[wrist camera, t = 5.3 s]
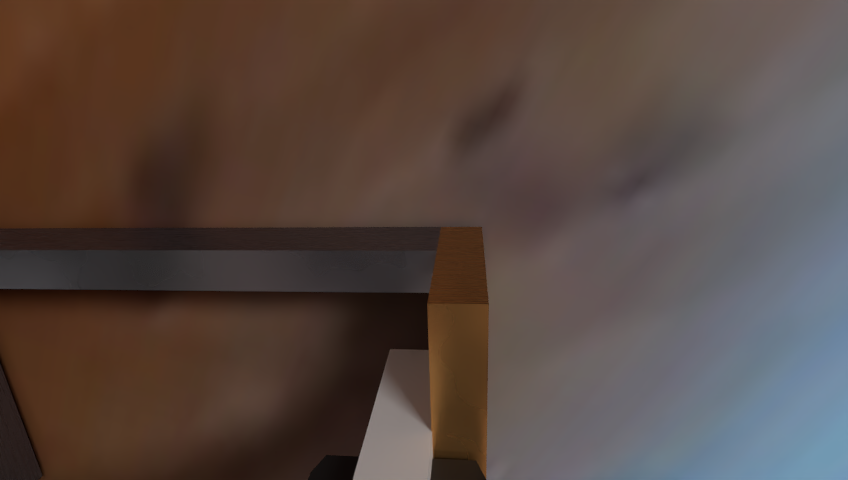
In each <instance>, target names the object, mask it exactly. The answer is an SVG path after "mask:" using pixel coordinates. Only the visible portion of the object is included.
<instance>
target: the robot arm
mask: <svg viewBox="0 0 848 480" xmlns="http://www.w3.org/2000/svg"><path fill="white" fill-rule="evenodd" d="M308 480H486V478H485V476H484V474H483V473H482V471H481V469H480V467H479V465H478V463H477V461H476V460H454V459H433V444H432V432H431V403H430V372H429V350H410V349H390V351H389V354H388V358H387V361H386V365H385V368H384V372H383V375H382V379H381V382H380V386H379V389H378V393H377V396H376V400H375V403H374V407H373V410H372V414H371V417H370V421H369V424H368V428H367V431H366V435H365V438H364V442H363V445H362V449H361V452H360V456H359V457H354V456H331V455H326V456H325V457H324V459H323V460H322V461H321V462H320V463H319V464H318V465H317V466H316V467H315V468H314V469H313V471H312V472H311V473H310V476H309V478H308Z"/></svg>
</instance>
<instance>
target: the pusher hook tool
mask: <svg viewBox="0 0 848 480" xmlns="http://www.w3.org/2000/svg"><path fill="white" fill-rule="evenodd" d="M0 289H75V290H178V291H280V292H382V293H429V297H428V303H427V310H428V341H429V372H430V403H431V432H432V444H433V459H454V460H476V461H477V463H478V465H479V467H480V469H481V471H482V473H483V474H484V476H485V478H486V450H487V381H488V312H489V303H488V292H487V280H486V269H485V258H484V246H483V235H482V227H334V228H34V229H0ZM41 477H42V473H41V470H40V468H39V465H38V463H37V460H36V457H35V455H34V452H33V449H32V447H31V444H30V441H29V439H28V436H27V433H26V431H25V428H24V425H23V423H22V420H21V417H20V415H19V412H18V410H17V407H16V404H15V402H14V399H13V396H12V394H11V391H10V388H9V386H8V383H7V380H6V378H5V375H4V372H3V370H2V367H1V364H0V480H39V479H40V478H41Z"/></svg>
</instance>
